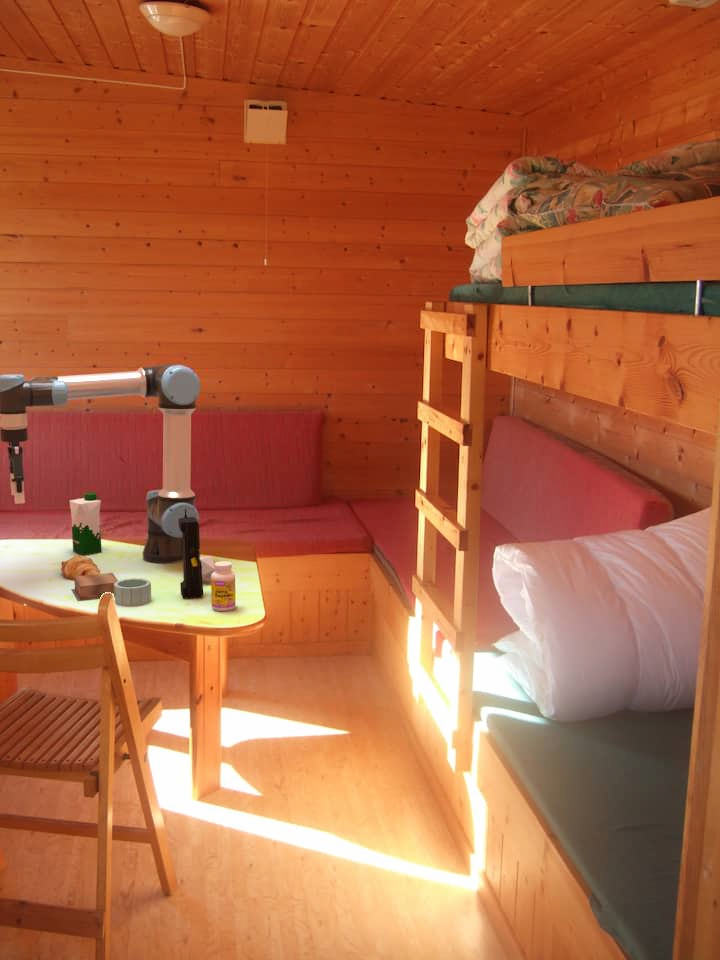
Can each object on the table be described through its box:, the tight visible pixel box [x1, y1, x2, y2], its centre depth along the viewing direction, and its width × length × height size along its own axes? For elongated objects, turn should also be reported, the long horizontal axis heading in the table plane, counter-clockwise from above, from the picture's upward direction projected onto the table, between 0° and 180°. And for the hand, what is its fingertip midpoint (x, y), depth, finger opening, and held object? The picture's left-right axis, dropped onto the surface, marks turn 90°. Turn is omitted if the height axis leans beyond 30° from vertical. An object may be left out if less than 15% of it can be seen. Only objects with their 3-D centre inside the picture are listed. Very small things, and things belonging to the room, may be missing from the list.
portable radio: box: [178, 509, 205, 599], centre depth 282 cm, size 8×6×25 cm
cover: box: [74, 572, 119, 600], centre depth 286 cm, size 11×11×4 cm
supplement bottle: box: [210, 561, 236, 612], centre depth 272 cm, size 7×7×13 cm
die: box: [200, 555, 217, 584], centre depth 298 cm, size 8×9×10 cm
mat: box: [71, 588, 101, 602], centre depth 286 cm, size 13×13×1 cm
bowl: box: [113, 577, 152, 607], centre depth 278 cm, size 10×10×5 cm
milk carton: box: [69, 492, 103, 556], centre depth 332 cm, size 9×9×20 cm
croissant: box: [60, 554, 101, 581], centre depth 303 cm, size 21×10×8 cm, turn 46°
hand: (18, 499), depth 290 cm, fingers open, 13 cm apart
